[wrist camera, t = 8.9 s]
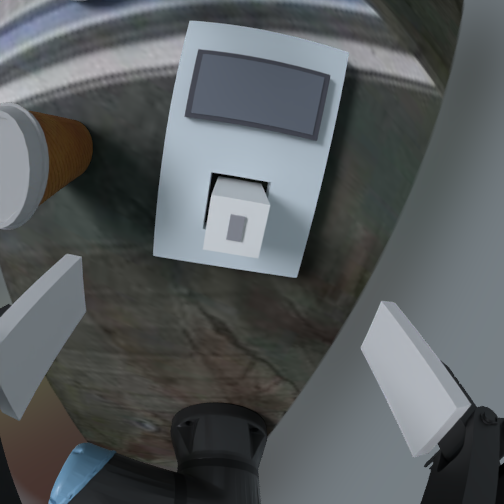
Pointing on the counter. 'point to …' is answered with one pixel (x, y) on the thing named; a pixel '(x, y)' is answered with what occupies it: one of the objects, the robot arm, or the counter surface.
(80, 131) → the disposable coffee cup
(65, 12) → the counter surface
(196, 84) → the phone
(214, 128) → the outlet board
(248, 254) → the block
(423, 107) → the counter surface
